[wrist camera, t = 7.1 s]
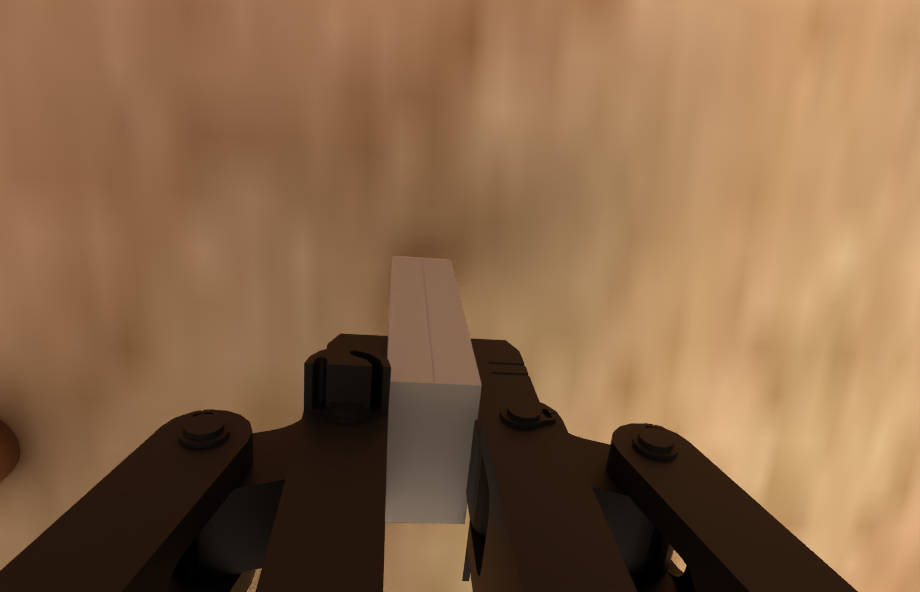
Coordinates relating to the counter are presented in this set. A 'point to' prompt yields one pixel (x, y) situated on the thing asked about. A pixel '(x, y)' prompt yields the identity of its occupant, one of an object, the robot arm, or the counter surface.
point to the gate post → (7, 451)
